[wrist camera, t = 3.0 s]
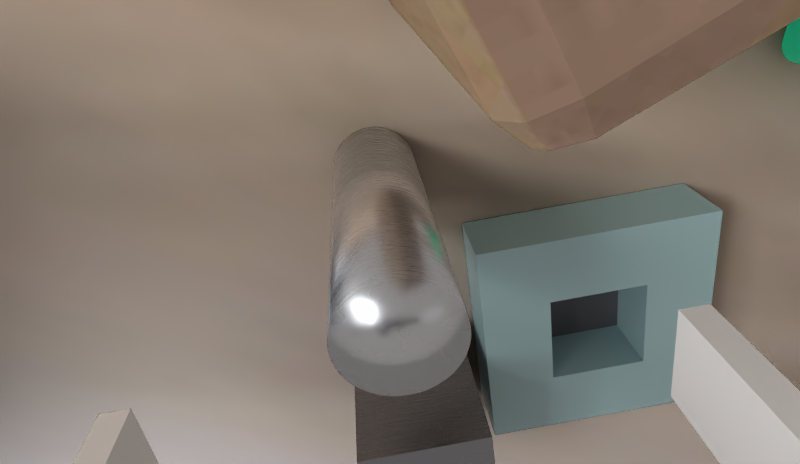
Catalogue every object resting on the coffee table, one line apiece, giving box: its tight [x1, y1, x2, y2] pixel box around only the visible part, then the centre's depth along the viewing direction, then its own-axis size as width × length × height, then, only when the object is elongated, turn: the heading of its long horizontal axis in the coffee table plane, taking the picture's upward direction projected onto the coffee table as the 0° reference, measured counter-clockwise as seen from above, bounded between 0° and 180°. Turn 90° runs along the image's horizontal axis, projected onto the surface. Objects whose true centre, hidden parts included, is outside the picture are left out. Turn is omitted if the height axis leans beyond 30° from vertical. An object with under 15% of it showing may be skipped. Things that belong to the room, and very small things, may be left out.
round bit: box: [327, 127, 471, 396], centre depth 22 cm, size 4×4×14 cm
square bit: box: [355, 355, 495, 464], centre depth 30 cm, size 6×6×9 cm
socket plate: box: [462, 183, 723, 435], centre depth 31 cm, size 12×12×4 cm
